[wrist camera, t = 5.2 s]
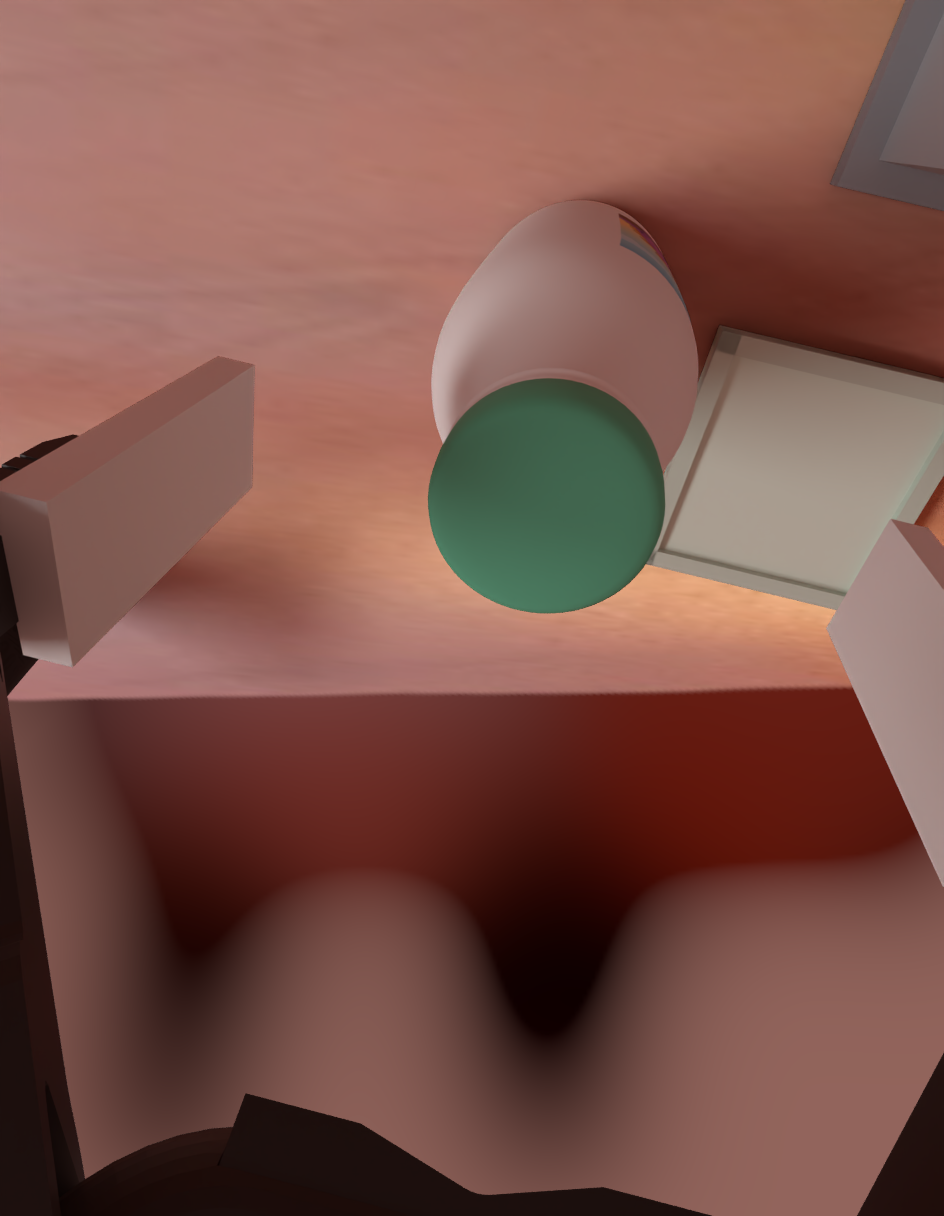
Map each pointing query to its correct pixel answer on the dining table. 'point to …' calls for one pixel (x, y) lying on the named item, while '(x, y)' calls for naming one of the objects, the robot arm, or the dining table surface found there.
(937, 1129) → the robot arm
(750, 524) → the pad
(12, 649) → the drinking cup
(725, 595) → the dining table surface
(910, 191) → the dispenser unit
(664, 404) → the milk bottle
